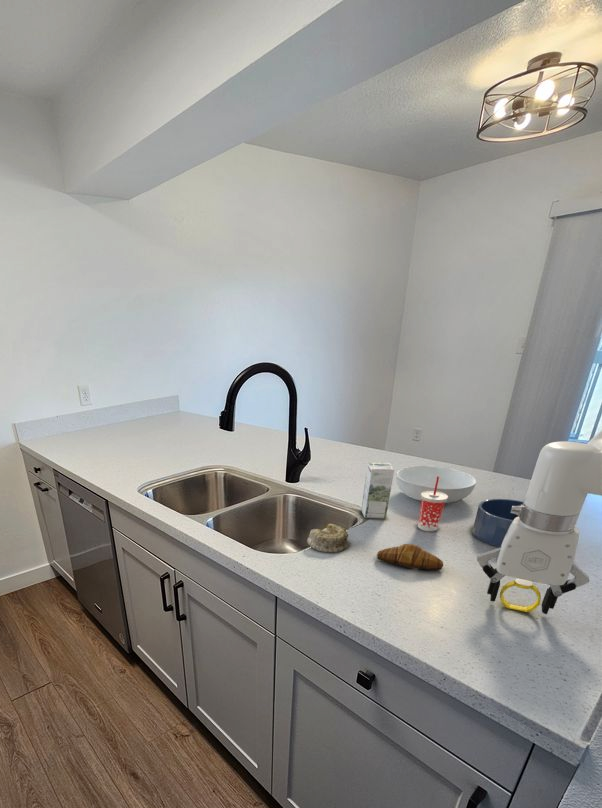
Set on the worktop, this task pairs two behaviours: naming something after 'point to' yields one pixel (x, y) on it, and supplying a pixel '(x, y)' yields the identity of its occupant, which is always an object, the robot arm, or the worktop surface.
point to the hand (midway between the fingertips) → (517, 603)
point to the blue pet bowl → (494, 520)
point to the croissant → (410, 557)
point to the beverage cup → (431, 509)
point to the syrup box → (377, 490)
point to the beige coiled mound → (328, 539)
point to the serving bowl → (425, 478)
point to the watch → (525, 585)
